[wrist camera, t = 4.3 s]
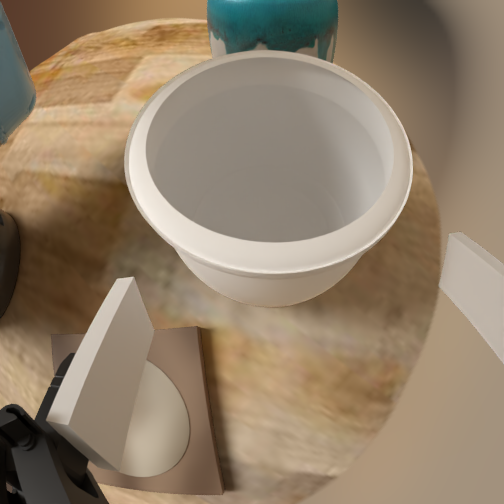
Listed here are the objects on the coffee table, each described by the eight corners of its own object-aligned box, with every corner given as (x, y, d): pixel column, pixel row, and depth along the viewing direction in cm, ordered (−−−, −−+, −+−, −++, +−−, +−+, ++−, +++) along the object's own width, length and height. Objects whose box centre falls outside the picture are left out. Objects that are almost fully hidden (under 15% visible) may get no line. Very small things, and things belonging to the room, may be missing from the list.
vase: (342, 116, 28) (380, -47, 10) (264, 162, 26) (256, -46, 8) (278, 68, 31) (279, -72, 13) (204, 104, 29) (167, -54, 11)
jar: (182, 291, 23) (72, 209, 9) (231, 183, 26) (202, 36, 12) (310, 339, 21) (389, 327, 7) (347, 221, 24) (419, 89, 10)
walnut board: (81, 473, 18) (74, 477, 17) (58, 335, 22) (50, 334, 21) (224, 488, 18) (222, 495, 17) (199, 327, 22) (196, 326, 21)
